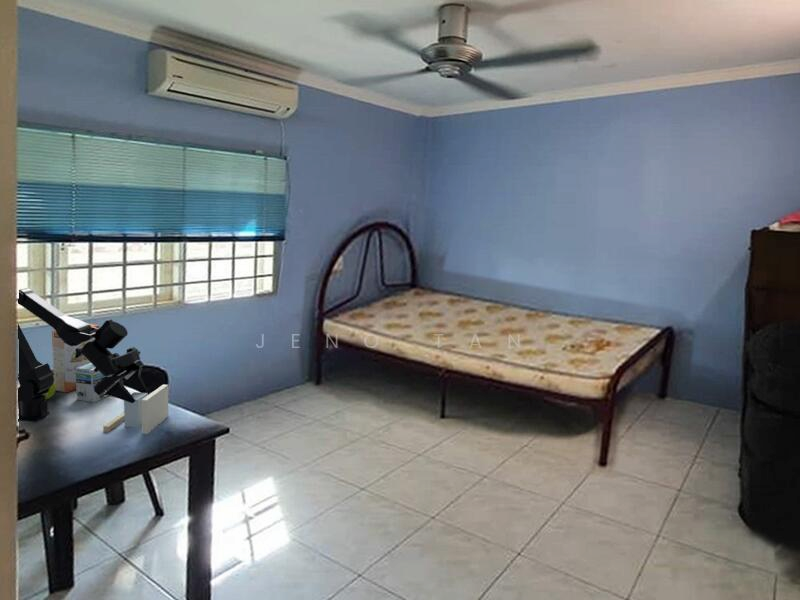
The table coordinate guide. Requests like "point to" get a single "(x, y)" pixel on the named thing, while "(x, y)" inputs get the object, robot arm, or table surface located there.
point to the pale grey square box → (134, 411)
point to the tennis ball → (50, 392)
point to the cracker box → (66, 363)
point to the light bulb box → (88, 383)
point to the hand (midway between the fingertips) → (140, 397)
